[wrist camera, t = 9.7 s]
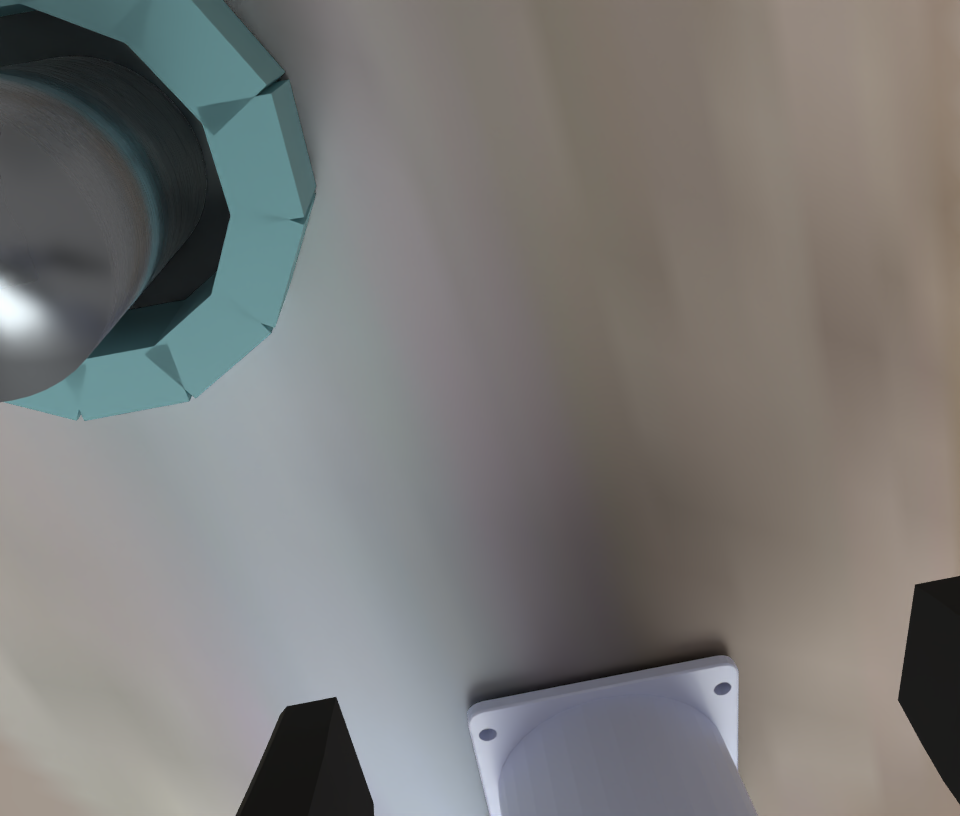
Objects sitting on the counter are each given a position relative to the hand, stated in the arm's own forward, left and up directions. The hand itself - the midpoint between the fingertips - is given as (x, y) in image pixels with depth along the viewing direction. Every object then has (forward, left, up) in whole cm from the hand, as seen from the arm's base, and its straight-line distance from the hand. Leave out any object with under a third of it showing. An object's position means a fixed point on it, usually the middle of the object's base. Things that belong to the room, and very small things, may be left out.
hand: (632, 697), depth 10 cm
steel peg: (+6, +8, -9) cm, 13 cm away
